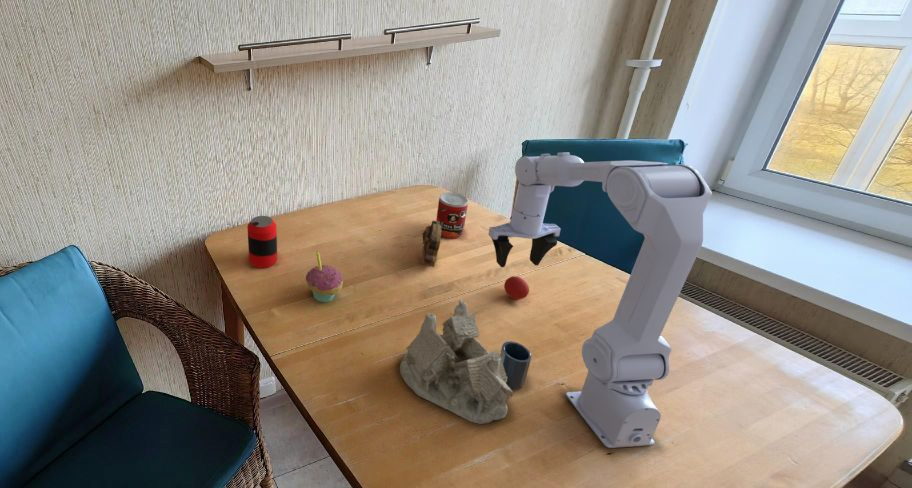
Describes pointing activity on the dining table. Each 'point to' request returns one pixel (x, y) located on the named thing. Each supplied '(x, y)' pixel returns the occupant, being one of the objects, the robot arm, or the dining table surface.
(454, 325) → the ceramic cottage
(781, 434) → the dining table surface
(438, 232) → the wooden carving
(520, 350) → the cup
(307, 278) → the cupcake
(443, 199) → the canned food
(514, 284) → the ball
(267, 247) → the soda can
